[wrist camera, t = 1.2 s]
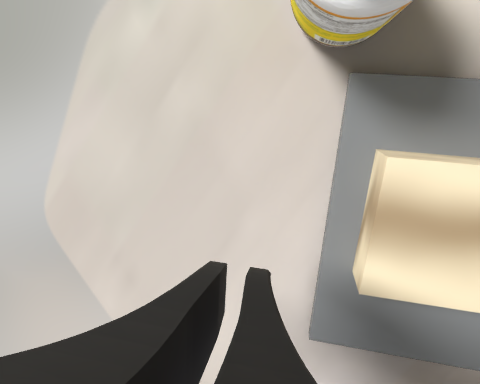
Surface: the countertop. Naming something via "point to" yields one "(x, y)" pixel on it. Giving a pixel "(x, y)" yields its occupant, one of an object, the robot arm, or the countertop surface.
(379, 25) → the supplement bottle
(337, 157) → the board
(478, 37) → the countertop surface
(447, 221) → the cream beveled panel
